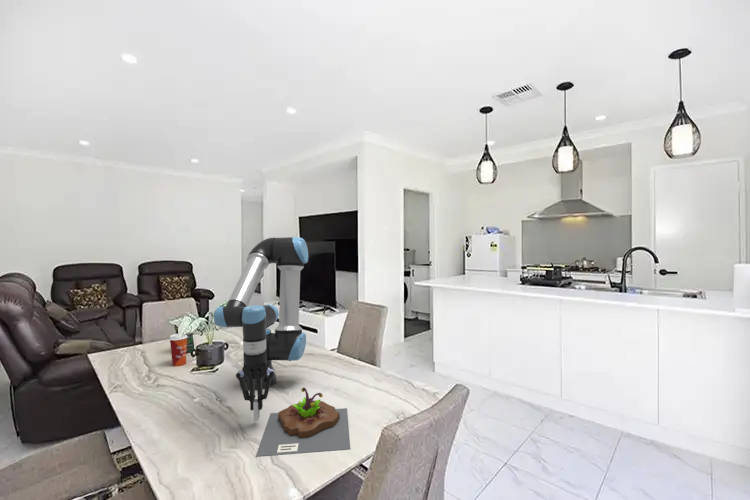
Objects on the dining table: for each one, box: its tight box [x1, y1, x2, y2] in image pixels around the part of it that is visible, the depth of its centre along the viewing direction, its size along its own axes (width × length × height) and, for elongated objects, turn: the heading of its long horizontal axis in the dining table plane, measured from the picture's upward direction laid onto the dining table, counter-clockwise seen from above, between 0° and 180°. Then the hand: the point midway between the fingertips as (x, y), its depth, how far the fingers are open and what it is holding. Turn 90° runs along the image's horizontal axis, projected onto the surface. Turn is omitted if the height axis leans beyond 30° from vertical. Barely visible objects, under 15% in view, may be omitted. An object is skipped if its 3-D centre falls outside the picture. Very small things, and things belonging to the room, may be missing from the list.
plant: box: [277, 386, 340, 437], centre depth 128 cm, size 20×20×11 cm
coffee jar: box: [173, 324, 195, 354], centre depth 205 cm, size 10×8×19 cm
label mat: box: [255, 407, 351, 458], centre depth 122 cm, size 28×26×1 cm
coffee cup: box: [169, 333, 188, 367], centre depth 186 cm, size 8×8×15 cm
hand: (256, 418), depth 126 cm, fingers closed
